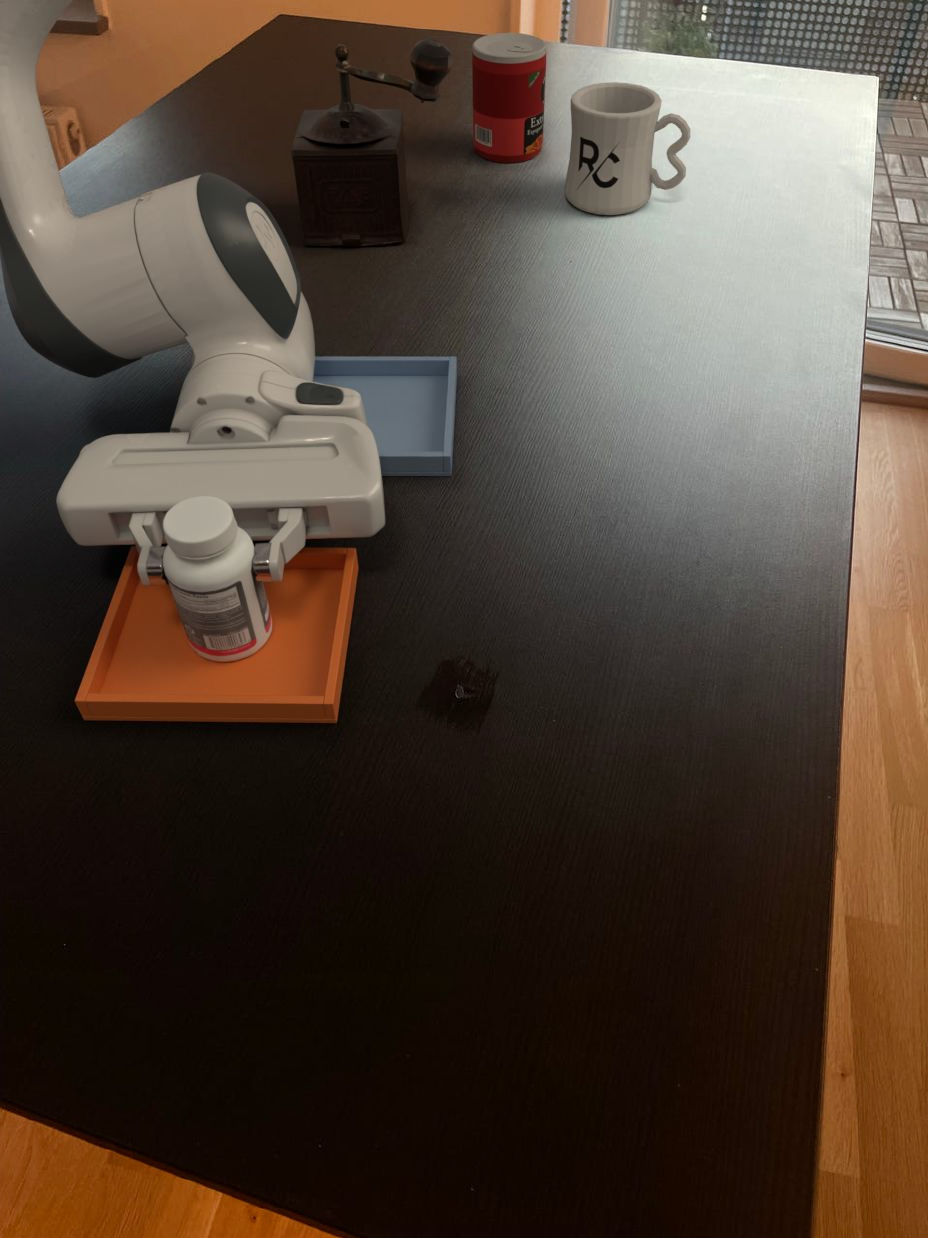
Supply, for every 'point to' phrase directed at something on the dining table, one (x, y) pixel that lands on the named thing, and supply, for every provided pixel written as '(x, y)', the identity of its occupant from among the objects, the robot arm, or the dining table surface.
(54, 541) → the dining table surface
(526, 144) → the canned food
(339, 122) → the manual coffee grinder
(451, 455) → the blue tray
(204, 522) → the pill bottle
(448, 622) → the dining table surface
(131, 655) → the orange tray
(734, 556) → the dining table surface
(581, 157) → the mug
